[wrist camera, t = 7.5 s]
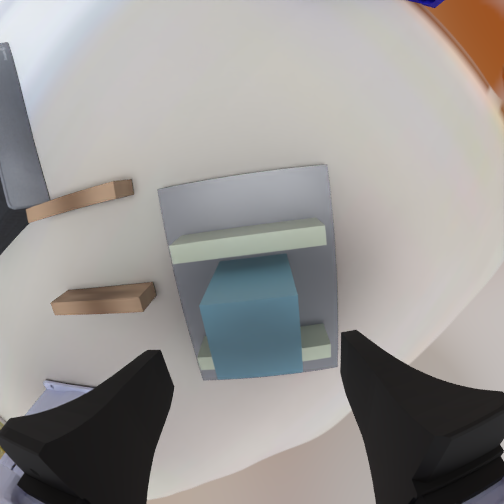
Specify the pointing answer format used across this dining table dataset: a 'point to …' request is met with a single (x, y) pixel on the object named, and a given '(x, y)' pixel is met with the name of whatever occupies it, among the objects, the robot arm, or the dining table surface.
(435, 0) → the blue cradle holder
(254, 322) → the blue rectangular block
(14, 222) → the external hard drive
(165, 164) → the dining table surface
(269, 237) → the dock
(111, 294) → the cradle
